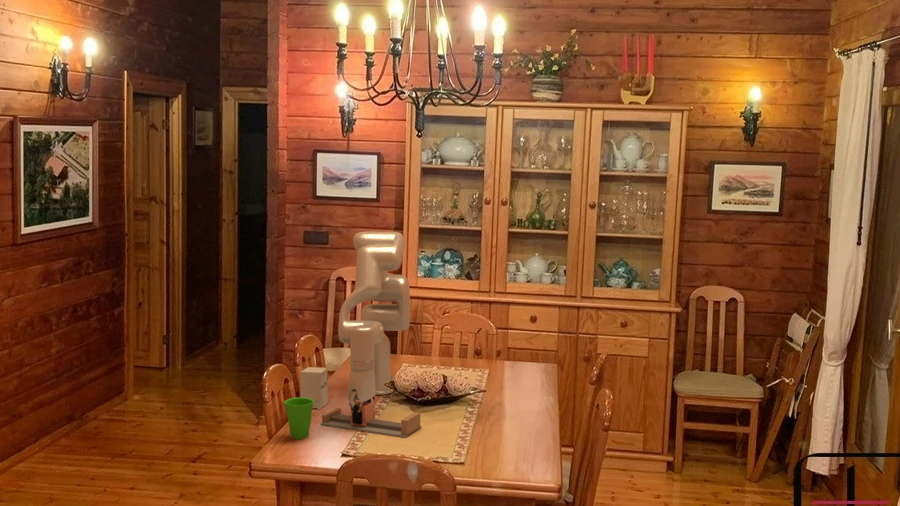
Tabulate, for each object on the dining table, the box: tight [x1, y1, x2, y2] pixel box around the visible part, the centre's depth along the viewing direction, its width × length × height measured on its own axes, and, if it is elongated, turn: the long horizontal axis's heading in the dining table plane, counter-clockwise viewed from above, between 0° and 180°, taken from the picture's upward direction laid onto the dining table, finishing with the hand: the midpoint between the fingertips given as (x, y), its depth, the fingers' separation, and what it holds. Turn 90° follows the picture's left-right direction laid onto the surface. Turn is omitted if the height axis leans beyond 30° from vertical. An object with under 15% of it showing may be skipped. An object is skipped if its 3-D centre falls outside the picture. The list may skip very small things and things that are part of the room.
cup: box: [283, 396, 314, 440], centre depth 275 cm, size 9×9×11 cm
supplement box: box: [299, 366, 328, 410], centre depth 307 cm, size 7×7×13 cm
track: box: [320, 407, 422, 439], centre depth 285 cm, size 11×30×5 cm, turn 66°
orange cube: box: [350, 401, 376, 426], centre depth 286 cm, size 6×5×6 cm
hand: (362, 420), depth 287 cm, fingers closed on orange cube, 6 cm apart
